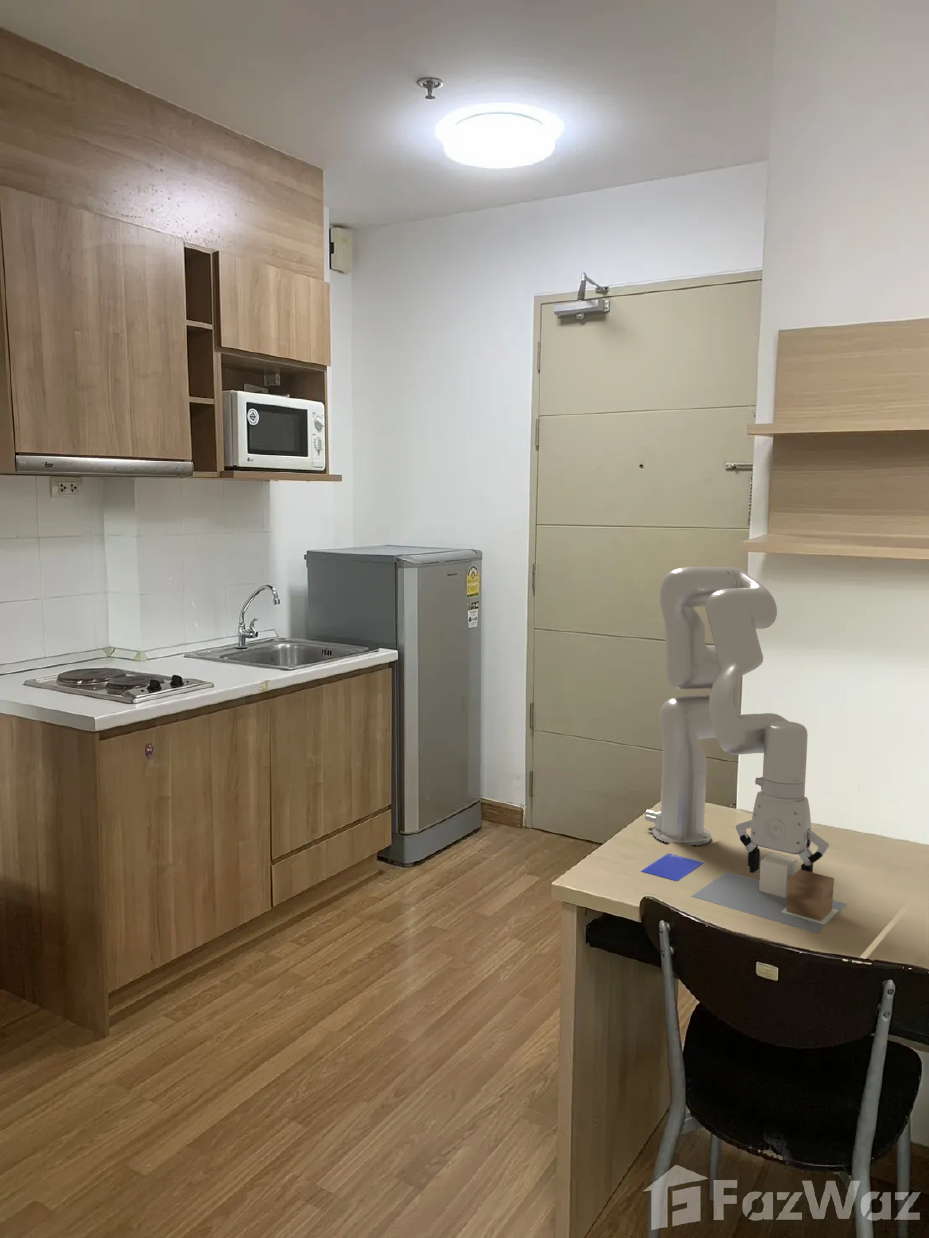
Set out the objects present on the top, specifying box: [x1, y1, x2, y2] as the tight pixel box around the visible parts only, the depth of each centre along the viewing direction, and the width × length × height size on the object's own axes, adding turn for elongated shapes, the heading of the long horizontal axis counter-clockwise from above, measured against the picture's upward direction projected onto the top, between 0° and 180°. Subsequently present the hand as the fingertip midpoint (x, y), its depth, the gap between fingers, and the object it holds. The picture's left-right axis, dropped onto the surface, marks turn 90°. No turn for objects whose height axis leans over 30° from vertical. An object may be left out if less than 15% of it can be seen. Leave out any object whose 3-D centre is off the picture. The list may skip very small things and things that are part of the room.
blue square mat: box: [640, 853, 705, 882], centre depth 185 cm, size 2×8×12 cm
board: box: [691, 871, 848, 934], centre depth 170 cm, size 23×16×1 cm
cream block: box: [759, 852, 798, 898], centre depth 174 cm, size 5×5×6 cm
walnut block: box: [787, 868, 835, 921], centre depth 164 cm, size 6×6×6 cm
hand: (779, 877), depth 173 cm, fingers open, 9 cm apart
